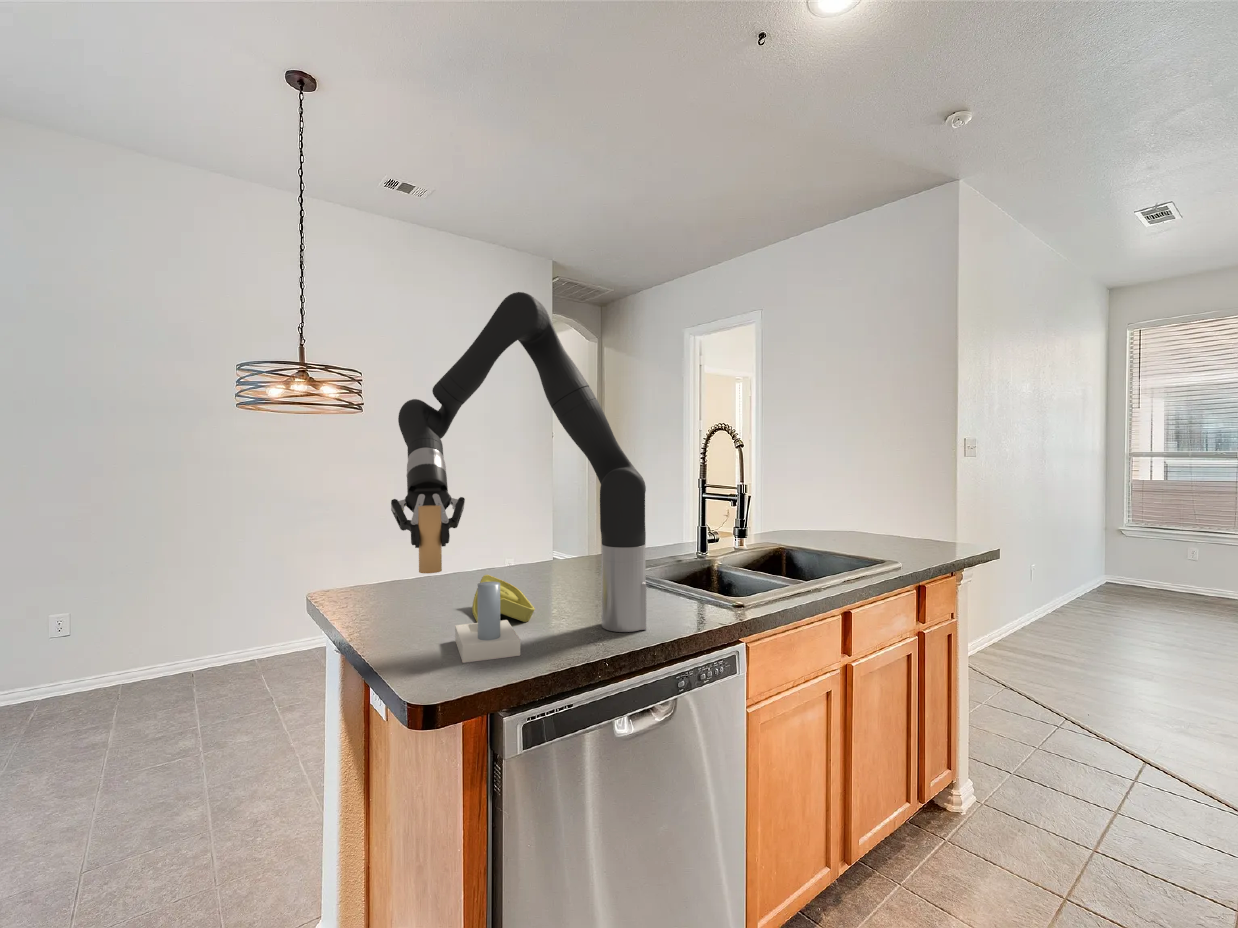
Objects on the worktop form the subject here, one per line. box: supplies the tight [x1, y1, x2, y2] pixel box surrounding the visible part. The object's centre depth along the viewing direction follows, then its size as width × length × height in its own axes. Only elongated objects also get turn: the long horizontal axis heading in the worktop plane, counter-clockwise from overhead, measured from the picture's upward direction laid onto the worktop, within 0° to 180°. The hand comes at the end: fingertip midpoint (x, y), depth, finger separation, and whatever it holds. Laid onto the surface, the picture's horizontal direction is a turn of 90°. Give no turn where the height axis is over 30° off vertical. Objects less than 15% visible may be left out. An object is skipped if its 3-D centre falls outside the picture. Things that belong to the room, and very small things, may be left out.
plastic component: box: [471, 574, 536, 623], centre depth 132 cm, size 20×7×10 cm
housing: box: [454, 582, 521, 664], centre depth 108 cm, size 13×10×13 cm
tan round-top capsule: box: [418, 505, 443, 574], centre depth 106 cm, size 4×4×12 cm
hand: (430, 544), depth 105 cm, fingers closed on tan round-top capsule, 4 cm apart
